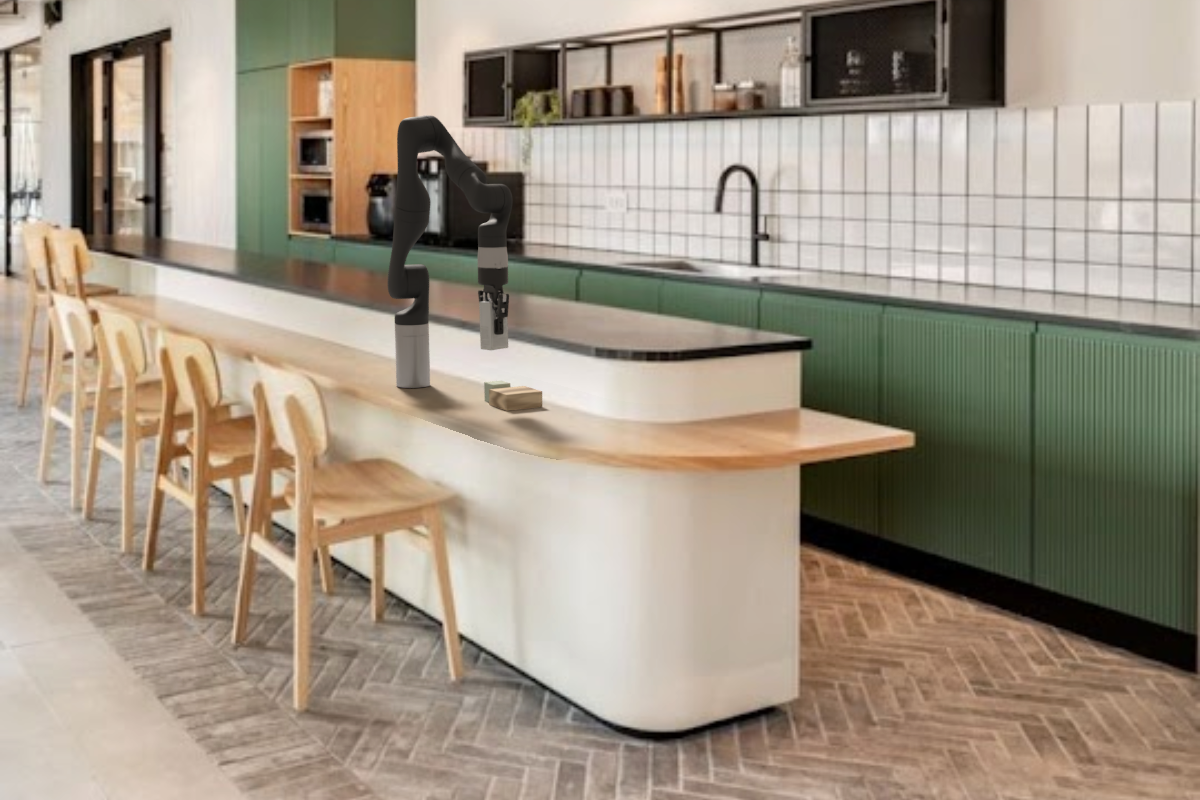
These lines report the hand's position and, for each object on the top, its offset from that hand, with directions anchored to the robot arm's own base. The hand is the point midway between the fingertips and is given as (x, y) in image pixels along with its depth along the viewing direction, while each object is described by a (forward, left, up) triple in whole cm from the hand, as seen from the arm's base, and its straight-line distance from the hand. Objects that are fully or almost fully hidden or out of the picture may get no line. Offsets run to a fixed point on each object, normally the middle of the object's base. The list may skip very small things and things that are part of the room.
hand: (494, 332), depth 366 cm
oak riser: (+1, +5, -19) cm, 20 cm away
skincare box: (0, 0, -4) cm, 4 cm away
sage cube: (-7, +4, -19) cm, 21 cm away
